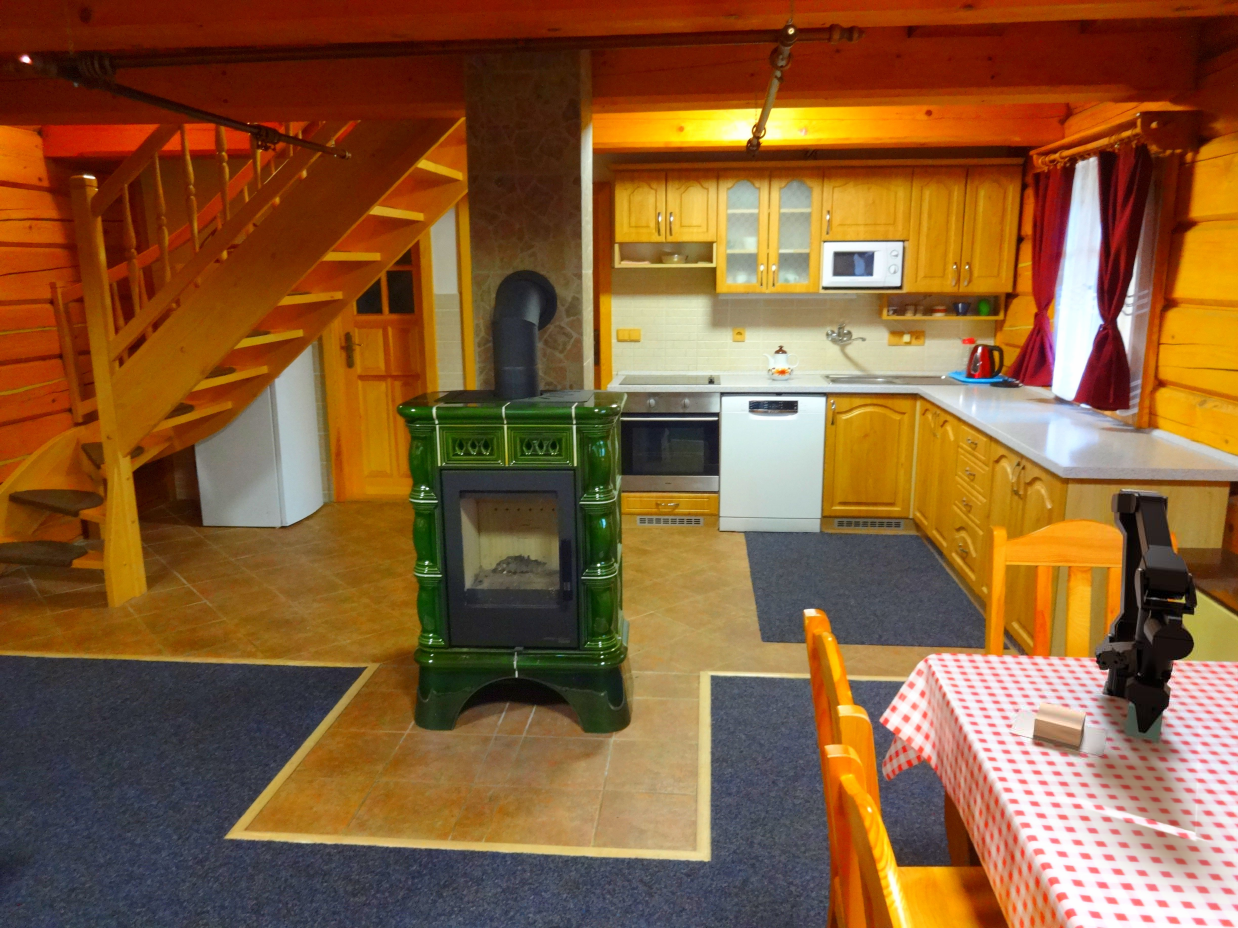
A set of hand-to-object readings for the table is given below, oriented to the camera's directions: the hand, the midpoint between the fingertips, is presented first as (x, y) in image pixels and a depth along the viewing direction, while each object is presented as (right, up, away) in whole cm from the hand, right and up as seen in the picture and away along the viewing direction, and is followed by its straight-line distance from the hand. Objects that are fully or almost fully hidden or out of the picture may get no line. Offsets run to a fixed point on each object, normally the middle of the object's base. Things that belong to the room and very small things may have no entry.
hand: (1143, 720), depth 150 cm
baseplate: (-14, -2, 0) cm, 15 cm away
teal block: (0, -3, 0) cm, 3 cm away
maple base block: (-14, -2, 0) cm, 15 cm away
